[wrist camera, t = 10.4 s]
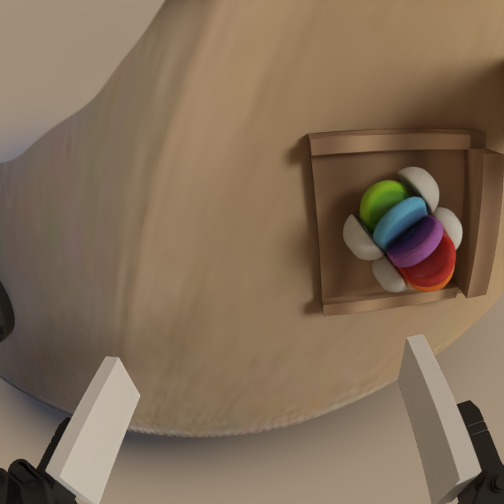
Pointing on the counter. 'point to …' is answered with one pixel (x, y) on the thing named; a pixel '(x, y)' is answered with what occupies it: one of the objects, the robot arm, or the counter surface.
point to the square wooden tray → (450, 196)
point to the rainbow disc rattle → (406, 233)
